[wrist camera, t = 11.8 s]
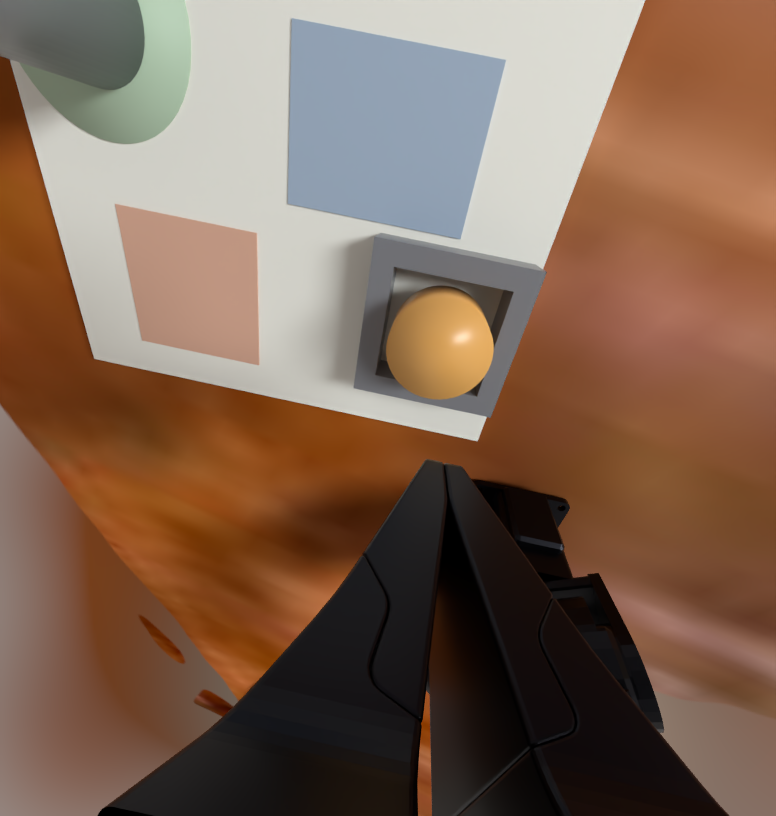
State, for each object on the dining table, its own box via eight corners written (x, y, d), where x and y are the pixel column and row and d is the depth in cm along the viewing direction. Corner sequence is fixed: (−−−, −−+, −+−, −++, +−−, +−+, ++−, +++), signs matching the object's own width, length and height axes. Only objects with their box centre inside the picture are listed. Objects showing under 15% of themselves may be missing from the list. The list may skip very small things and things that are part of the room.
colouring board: (476, 435, 22) (477, 441, 21) (102, 355, 22) (93, 359, 22) (836, -525, 8) (867, -582, 7) (-178, -690, 8) (-224, -756, 8)
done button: (470, 383, 18) (475, 408, 16) (385, 365, 18) (378, 388, 16) (499, 296, 16) (509, 311, 14) (402, 276, 16) (396, 288, 14)
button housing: (485, 398, 20) (490, 417, 18) (360, 372, 20) (353, 388, 18) (535, 264, 16) (546, 272, 14) (381, 232, 16) (374, 236, 15)
